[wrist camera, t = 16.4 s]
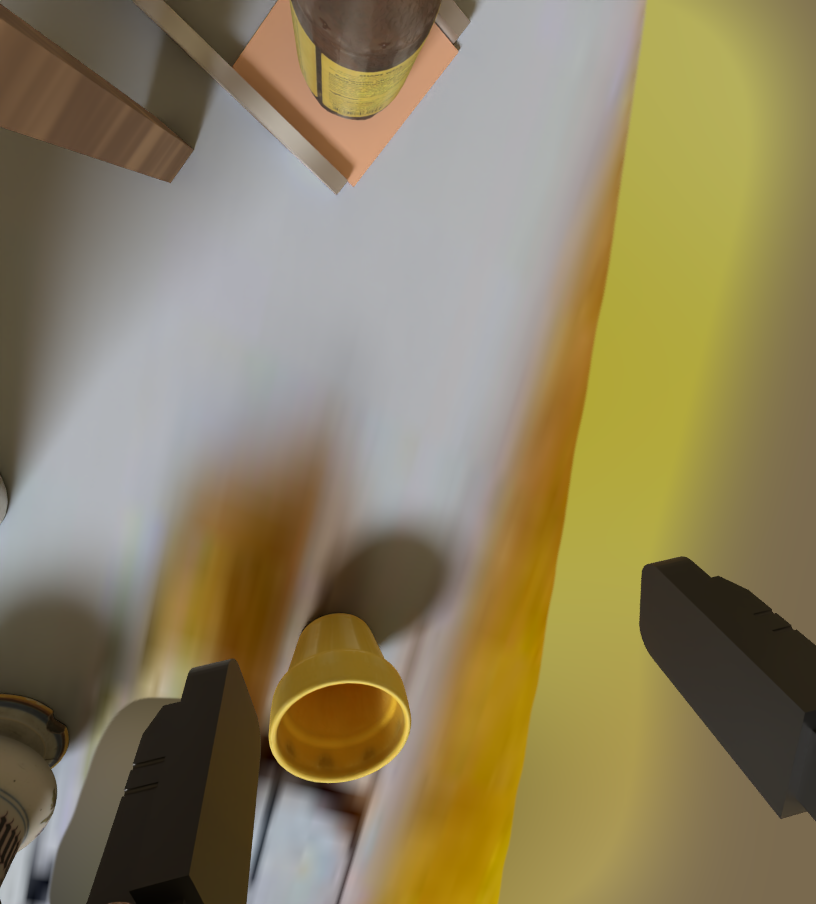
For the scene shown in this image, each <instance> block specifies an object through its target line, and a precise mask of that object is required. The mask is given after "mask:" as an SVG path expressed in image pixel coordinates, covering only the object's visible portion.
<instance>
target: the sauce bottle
mask: <svg viewBox="0 0 816 904" xmlns="http://www.w3.org/2000/svg"><path fill="white" fill-rule="evenodd" d="M289 1H290V8H291V15H292V22H293V28H294V35H295V42H296V49H297V56H298V61H299V65H300V69H301V72H302V74H303V76H304V79H305V81H306V83H307V85H308V87H309V89H310V90H311V92H312V94H313V96H314V97H315V98H316V100H317V101H318V102H319V104H320V105H321V106H322V107H323V108H324V109H325V110H327V111H328V112H330V113H332V114H335V115H337V116H339V117H342V118H346V119H351V120H366V119H370V118H372V117H373V116H374V115H376V114H377V113H379V112H380V111H382V110H383V109H384V108H386V107H387V106H388V105H389V104H390V103H391V102H392V101H393V100H394V99H395V97H396V96H397V95H398V93H399V92H400V90H401V88H402V87H403V85H404V83H405V81H406V79H407V77H408V75H409V73H410V71H411V69H412V66H413V64H414V62H415V60H416V58H417V56H418V54H419V53H420V51H421V49H422V47H423V45H424V43H425V41H426V39H427V37H428V35H429V33H430V30H431V28H432V26H433V24H434V22H435V19H436V17H437V14H438V11H439V8H440V5H441V1H442V0H289Z"/></svg>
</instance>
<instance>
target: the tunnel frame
mask: <svg viewBox="0 0 816 904" xmlns="http://www.w3.org/2000/svg"><path fill="white" fill-rule="evenodd" d="M132 1H133V2H134V3H135V4H136V5H137V6H138V7H139V8H140V9H141V10H142V11H143V12H144V13H145V14H146V15H147V16H148V17H150V18H151V19H152V20H153V21H154V22H155V23H156V24H157V25H158V26H159V27H160V28H161V29H162V30H163V31H164V32H165V33H166V34H167V35H168V36H170V37H171V38H172V39H173V40H174V41H175V42H176V43H177V44H178V45H179V46H180V47H181V48H182V49H183V50H184V51H185V52H186V53H187V54H188V55H189V56H191V57H192V58H193V59H194V60H195V61H196V62H197V63H198V64H199V65H200V66H201V67H202V68H203V69H204V70H205V71H206V72H207V73H208V74H209V75H210V76H212V77H213V78H214V79H215V80H216V81H217V82H218V83H219V84H220V85H221V86H222V87H223V88H224V89H225V90H226V91H227V92H228V93H229V94H230V95H231V96H233V97H234V98H235V99H236V100H237V101H238V102H239V103H240V104H241V105H242V106H243V107H244V108H245V109H246V110H247V111H248V112H249V113H250V114H251V115H253V116H254V117H255V118H256V119H257V120H258V121H259V122H260V123H261V124H262V125H263V126H264V127H265V128H266V129H267V130H268V131H269V132H270V133H271V134H272V135H274V136H275V137H276V138H277V139H278V140H279V141H280V142H281V143H282V144H283V145H284V146H285V147H286V148H287V149H288V150H289V151H290V152H291V153H292V154H293V155H295V156H296V157H297V158H298V159H299V160H300V161H301V162H302V163H303V164H304V165H305V166H306V167H307V168H308V169H309V170H310V171H311V172H312V173H313V174H314V175H316V176H317V177H318V178H319V179H320V180H321V181H322V182H323V183H324V184H325V185H326V186H327V187H328V188H329V189H330V190H331V191H332V192H333V193H334V194H335V195H337V194H338V193H339V191H340V190H341V189H342V187H343V186H344V185H345V184H346V182H347V181H348V180H347V179H346V178H345V177H344V176H343V175H342V174H341V173H340V172H339V171H338V170H337V169H336V168H335V167H334V166H332V165H331V164H330V163H329V162H328V161H327V160H326V159H325V158H324V157H323V156H322V155H321V154H320V153H319V152H318V151H317V150H316V149H315V148H314V147H313V146H312V145H311V144H310V143H309V142H308V141H307V140H306V139H305V138H304V137H303V136H302V135H301V134H300V133H299V132H298V131H297V130H296V129H295V128H294V127H292V126H291V125H290V124H289V123H288V122H287V121H286V120H285V119H284V118H283V117H282V116H281V115H280V114H279V113H278V112H277V111H276V110H275V109H274V108H273V107H272V106H271V105H270V104H269V103H268V102H267V101H266V100H265V99H264V98H263V97H262V96H261V95H260V94H259V93H258V92H257V91H256V90H255V89H254V88H252V87H251V86H250V85H249V84H248V83H247V82H246V81H245V80H244V79H243V78H242V77H241V76H240V75H239V74H238V73H237V72H236V71H235V70H234V69H233V68H232V67H231V66H230V65H229V64H228V63H227V62H226V61H225V60H224V59H223V58H222V57H221V56H220V55H219V54H218V53H217V52H216V51H215V50H214V49H212V48H211V47H210V46H209V45H208V44H207V43H206V42H205V41H204V40H203V39H202V38H201V37H200V36H199V35H198V34H197V33H196V32H195V31H194V30H193V29H192V28H191V27H190V26H189V25H188V24H187V23H186V22H185V21H184V20H183V19H182V18H181V17H180V16H179V15H178V14H177V13H176V12H175V11H174V10H173V9H171V8H170V7H169V6H168V5H167V4H166V3H165V2H164V1H163V0H132ZM469 23H470V21H469V19H468V18H467V17H466V16H465V14H464V13H463V12H462V11H461V9H460V8H459V7H458V6H457V4H456V3H455V2H454V1H453V0H442V1H441V5H440V8H439V11H438V14H437V17H436V19H435V24H436V25H437V26H438V27H439V28H440V30H441V31H442V32H443V33H444V35H445V36H446V37H447V38H448V39H449V41H450V42H451V43H452V44H454V42H455V41H456V40H457V39H458V37H459V36H460V35H461V33H462V32H463V31H464V30H465V28H466V27H467V26H468V24H469ZM0 127H2V128H5V129H8V130H11V131H14V132H17V133H20V134H23V135H26V136H29V137H32V138H35V139H39V140H42V141H45V142H48V143H51V144H54V145H57V146H60V147H63V148H66V149H69V150H72V151H75V152H78V153H81V154H84V155H87V156H90V157H93V158H96V159H99V160H102V161H105V162H108V163H111V164H114V165H117V166H120V167H123V168H126V169H130V170H133V171H136V172H139V173H142V174H145V175H148V176H151V177H154V178H157V179H160V180H163V181H166V182H169V183H171V182H172V180H173V179H174V178H175V176H176V175H177V173H178V172H179V170H180V169H181V167H182V166H183V165H184V163H185V162H186V160H187V159H188V157H189V156H190V155H191V153H192V152H193V149H192V148H191V147H190V146H189V145H188V144H186V143H185V142H184V141H183V140H182V139H181V138H180V137H178V136H177V135H176V134H175V133H174V132H173V131H172V130H170V129H169V128H168V127H167V126H166V125H165V124H164V123H163V122H161V121H160V120H159V119H158V118H157V117H155V116H154V115H153V114H151V113H150V112H149V111H147V110H146V109H144V108H143V107H142V106H140V105H139V104H138V103H136V102H135V101H133V100H132V99H131V98H129V97H128V96H127V95H125V94H124V93H122V92H121V91H120V90H118V89H117V88H116V87H114V86H113V85H111V84H110V83H109V82H107V81H106V80H105V79H103V78H102V77H100V76H99V75H98V74H96V73H95V72H94V71H92V70H91V69H89V68H88V67H87V66H85V65H84V64H83V63H81V62H80V61H78V60H77V59H76V58H74V57H73V56H72V55H70V54H69V53H67V52H66V51H65V50H63V49H62V48H61V47H59V46H58V45H56V44H55V43H54V42H52V41H51V40H50V39H48V38H47V37H45V36H44V35H43V34H41V33H40V32H39V31H37V30H36V29H34V28H33V27H32V26H30V25H29V24H27V23H26V22H25V21H23V20H22V19H21V18H19V17H18V16H16V15H15V14H14V13H12V12H11V11H10V10H8V9H7V8H5V7H4V6H3V5H1V4H0Z"/></svg>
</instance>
